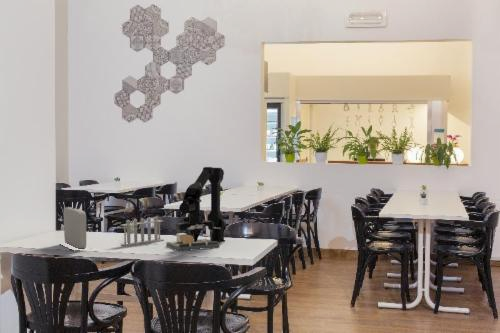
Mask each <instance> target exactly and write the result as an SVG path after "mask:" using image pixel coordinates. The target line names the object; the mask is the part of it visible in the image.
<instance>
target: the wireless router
mask: <svg viewBox="0 0 500 333" xmlns="http://www.w3.org/2000/svg"><path fill="white" fill-rule="evenodd" d="M86 214H87V213H86V212H85V210H81V209H78V208H75V207H70V206H68V207H64V208H63V214H62V215H63V231H64V232H63V233H64V242H65V243H67V244H69V245H71V246H73V247H75V248H78V249H85V248H86V246H87V215H86ZM90 248H91V249H92V250H93V248H92V247H90ZM77 251H80V250H75V251H74V252H77Z"/></svg>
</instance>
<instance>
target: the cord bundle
mask: <svg viewBox="0 0 500 333" xmlns="http://www.w3.org/2000/svg"><path fill="white" fill-rule="evenodd" d="M218 243H219V242H217V241H214V242H207V241H204V242H202V243H188V244H180V245H179V247H185V246H196V245H208V244H218Z"/></svg>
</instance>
